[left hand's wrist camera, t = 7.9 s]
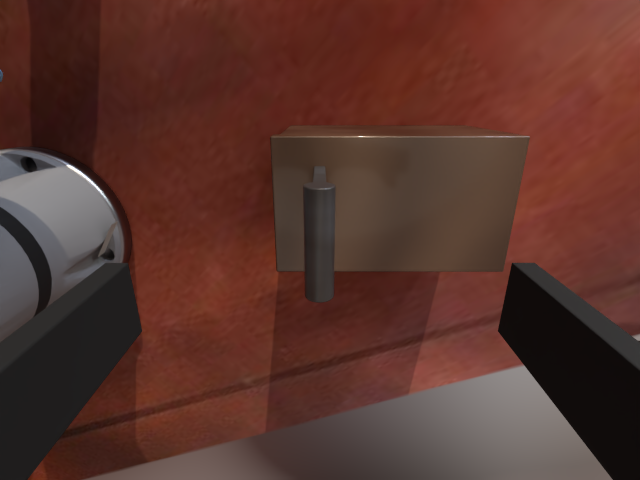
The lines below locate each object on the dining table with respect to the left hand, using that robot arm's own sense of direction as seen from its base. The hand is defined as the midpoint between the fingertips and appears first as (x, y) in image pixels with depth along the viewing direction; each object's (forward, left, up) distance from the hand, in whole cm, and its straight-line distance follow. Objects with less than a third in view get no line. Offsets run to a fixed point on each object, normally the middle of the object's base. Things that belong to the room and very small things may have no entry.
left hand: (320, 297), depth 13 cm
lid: (+4, -3, -13) cm, 14 cm away
